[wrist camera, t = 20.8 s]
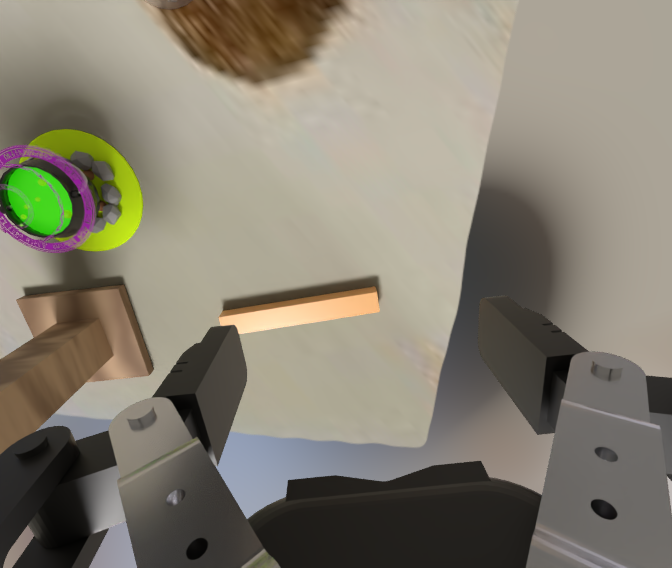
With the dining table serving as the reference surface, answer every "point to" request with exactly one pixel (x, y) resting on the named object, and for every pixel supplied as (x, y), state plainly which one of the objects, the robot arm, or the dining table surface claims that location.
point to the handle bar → (302, 310)
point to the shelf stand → (67, 354)
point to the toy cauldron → (70, 192)
